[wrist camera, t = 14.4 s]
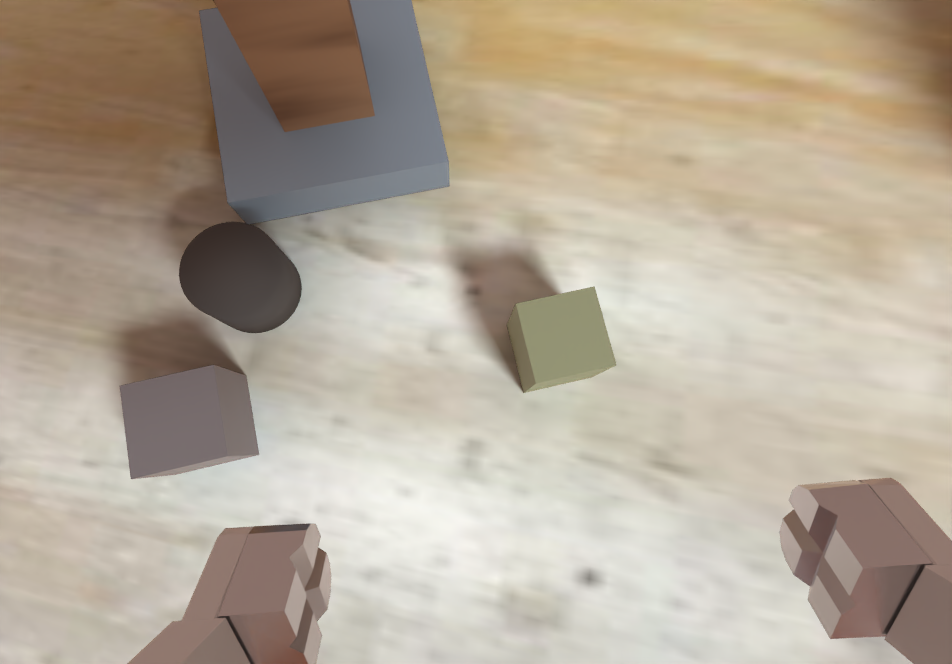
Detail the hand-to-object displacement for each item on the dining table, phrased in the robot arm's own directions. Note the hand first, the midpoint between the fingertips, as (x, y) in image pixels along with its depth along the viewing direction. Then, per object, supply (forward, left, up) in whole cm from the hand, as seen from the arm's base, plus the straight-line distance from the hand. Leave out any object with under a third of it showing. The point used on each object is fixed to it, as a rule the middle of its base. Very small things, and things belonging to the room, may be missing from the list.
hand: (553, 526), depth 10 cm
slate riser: (-14, -19, -21) cm, 31 cm away
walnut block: (-14, -18, -18) cm, 29 cm away
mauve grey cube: (+5, -14, -21) cm, 26 cm away
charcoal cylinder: (-2, -16, -21) cm, 27 cm away
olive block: (-8, 0, -21) cm, 23 cm away
